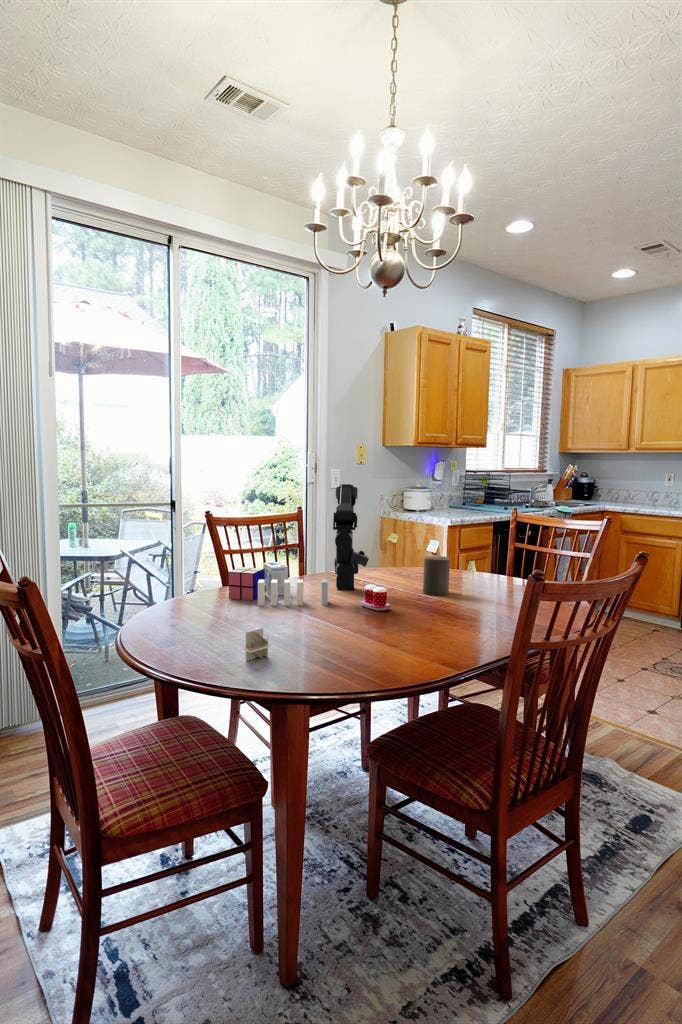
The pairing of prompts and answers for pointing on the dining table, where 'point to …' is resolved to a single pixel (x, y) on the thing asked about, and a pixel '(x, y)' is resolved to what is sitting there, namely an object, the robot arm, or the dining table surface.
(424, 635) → the dining table surface
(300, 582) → the domino
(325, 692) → the dining table surface
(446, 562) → the dark grey cylinder
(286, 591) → the domino
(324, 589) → the domino
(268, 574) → the light bulb box
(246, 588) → the puzzle cube
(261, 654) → the architectural model
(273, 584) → the domino
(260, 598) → the domino
